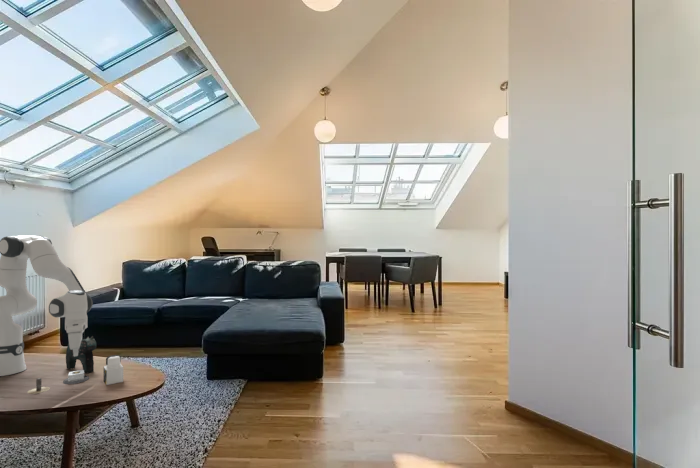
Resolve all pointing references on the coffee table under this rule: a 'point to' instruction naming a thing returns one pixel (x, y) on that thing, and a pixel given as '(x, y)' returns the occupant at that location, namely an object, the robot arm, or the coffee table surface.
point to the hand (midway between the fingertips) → (76, 354)
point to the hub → (76, 381)
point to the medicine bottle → (113, 370)
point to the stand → (38, 388)
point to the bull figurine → (82, 355)
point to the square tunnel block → (76, 375)
